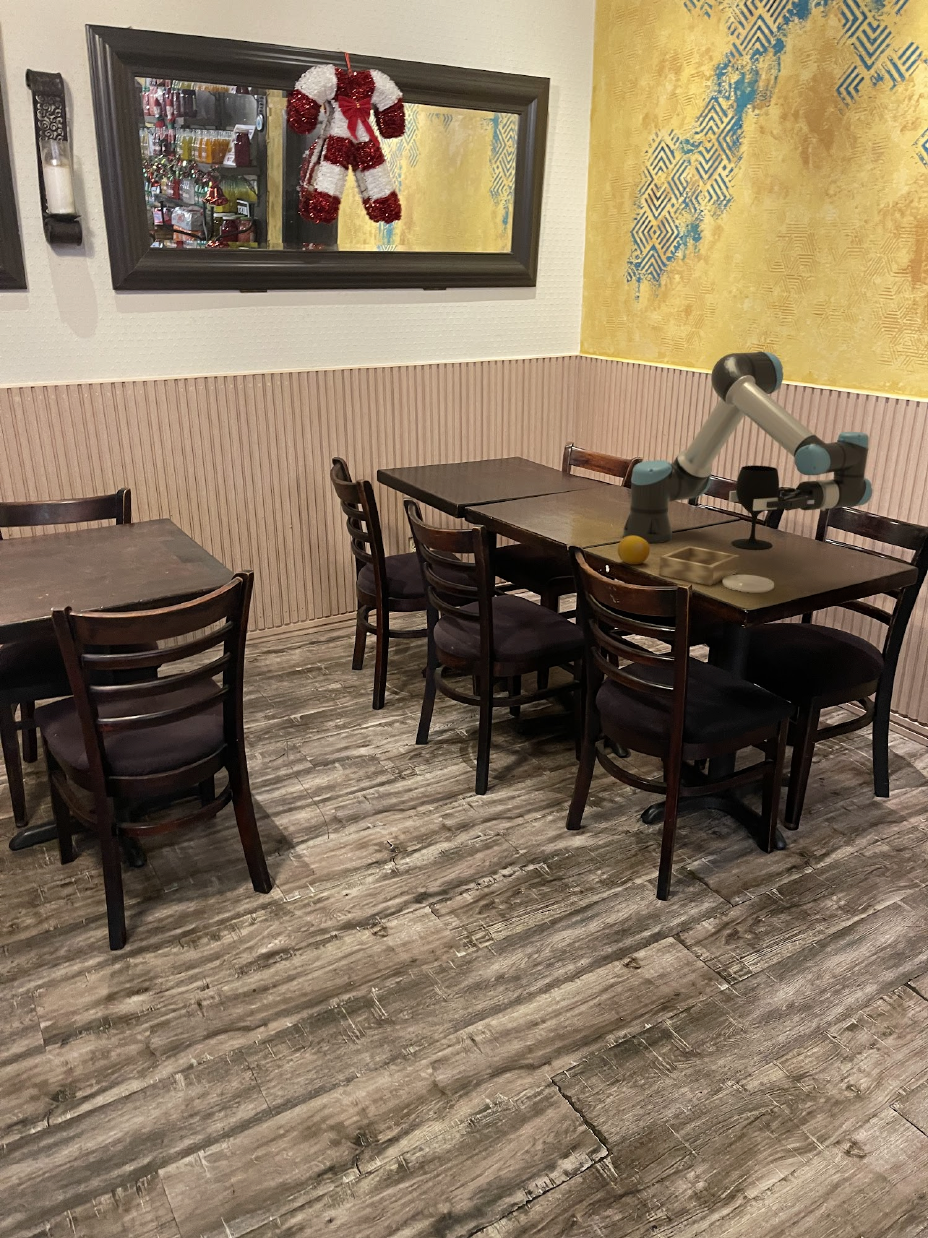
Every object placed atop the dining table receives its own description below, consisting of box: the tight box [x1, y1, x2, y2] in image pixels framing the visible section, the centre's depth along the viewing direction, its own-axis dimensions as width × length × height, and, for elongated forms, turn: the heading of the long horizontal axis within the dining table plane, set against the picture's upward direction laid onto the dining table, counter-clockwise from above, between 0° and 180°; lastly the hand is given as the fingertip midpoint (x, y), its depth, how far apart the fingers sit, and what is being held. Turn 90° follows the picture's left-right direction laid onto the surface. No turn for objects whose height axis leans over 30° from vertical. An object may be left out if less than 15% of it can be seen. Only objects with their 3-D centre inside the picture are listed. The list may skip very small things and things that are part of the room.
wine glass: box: [731, 465, 780, 551], centre depth 243 cm, size 10×10×20 cm
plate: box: [721, 574, 775, 594], centre depth 249 cm, size 13×13×1 cm
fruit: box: [617, 536, 651, 565], centre depth 268 cm, size 9×8×8 cm
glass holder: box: [658, 545, 740, 586], centre depth 259 cm, size 15×15×5 cm
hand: (741, 500), depth 241 cm, fingers closed on wine glass, 10 cm apart
